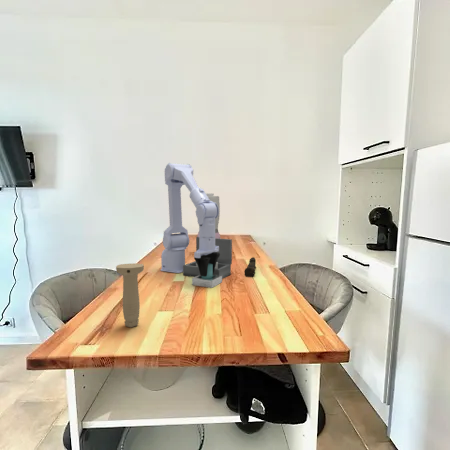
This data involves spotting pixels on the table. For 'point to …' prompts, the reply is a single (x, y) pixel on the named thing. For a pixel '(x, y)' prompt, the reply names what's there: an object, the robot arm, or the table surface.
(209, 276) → the teal cylinder
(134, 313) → the handle
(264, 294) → the table surface
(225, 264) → the case
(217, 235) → the blender
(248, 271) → the hand tool
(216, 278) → the white square frame
